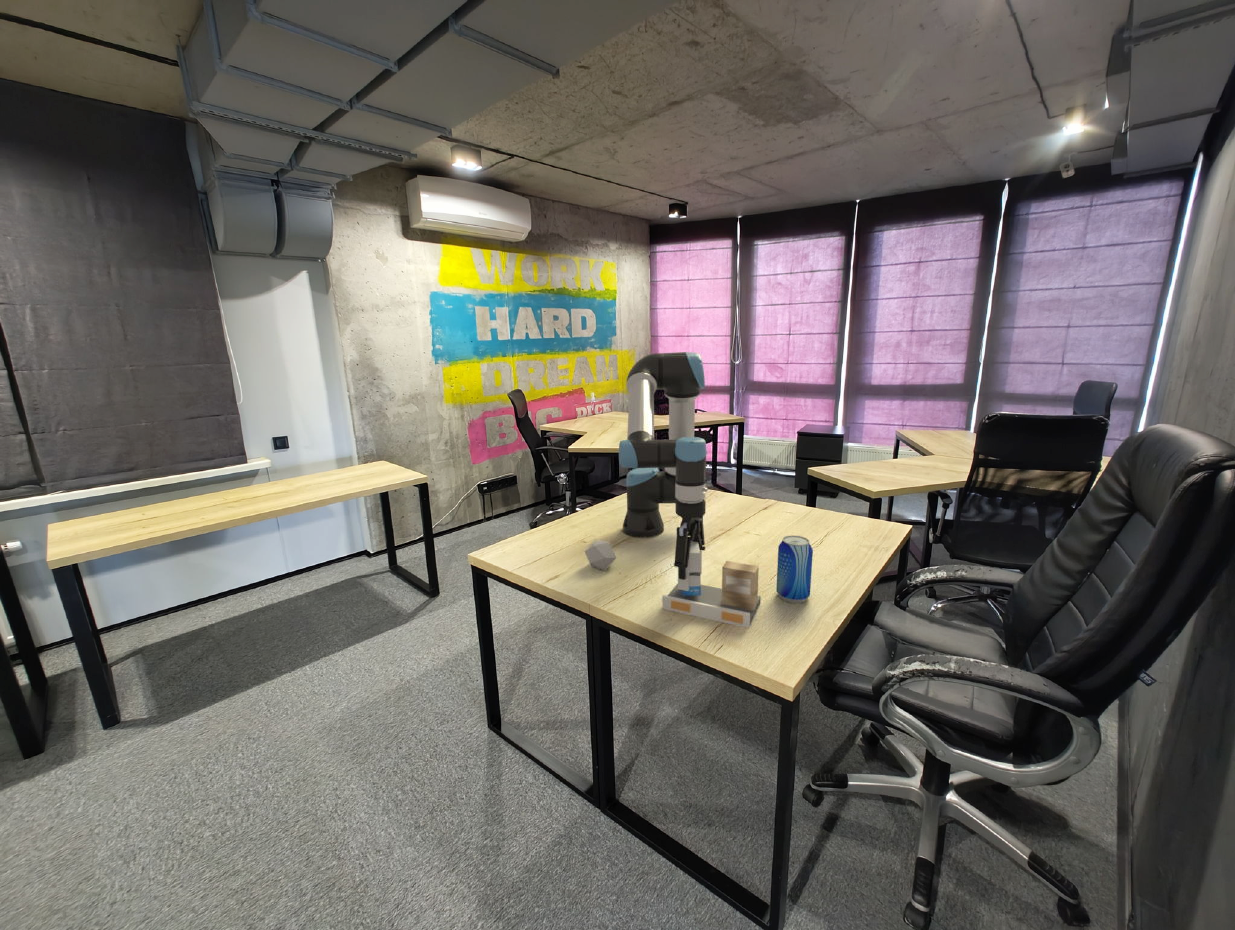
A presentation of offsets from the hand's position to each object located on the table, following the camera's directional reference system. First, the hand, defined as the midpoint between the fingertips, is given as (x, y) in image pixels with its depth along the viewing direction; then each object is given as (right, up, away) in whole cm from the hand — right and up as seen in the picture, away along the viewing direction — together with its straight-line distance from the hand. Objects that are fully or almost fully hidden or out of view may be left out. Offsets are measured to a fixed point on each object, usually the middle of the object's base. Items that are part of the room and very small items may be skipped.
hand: (690, 581), depth 129 cm
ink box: (0, -2, +1) cm, 2 cm away
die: (-24, -1, +24) cm, 34 cm away
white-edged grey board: (+5, -6, -2) cm, 8 cm away
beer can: (+27, -5, +2) cm, 28 cm away
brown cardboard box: (+12, -4, -5) cm, 13 cm away
